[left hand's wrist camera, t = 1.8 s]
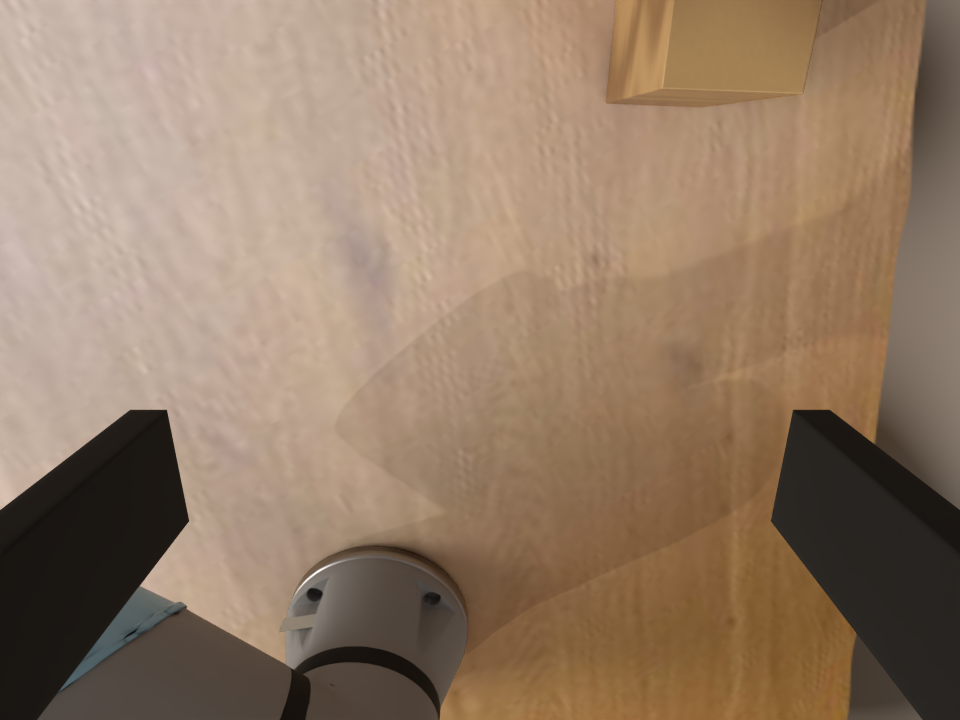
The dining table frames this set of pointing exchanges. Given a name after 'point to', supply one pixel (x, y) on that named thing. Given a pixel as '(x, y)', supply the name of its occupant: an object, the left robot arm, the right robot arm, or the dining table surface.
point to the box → (710, 51)
